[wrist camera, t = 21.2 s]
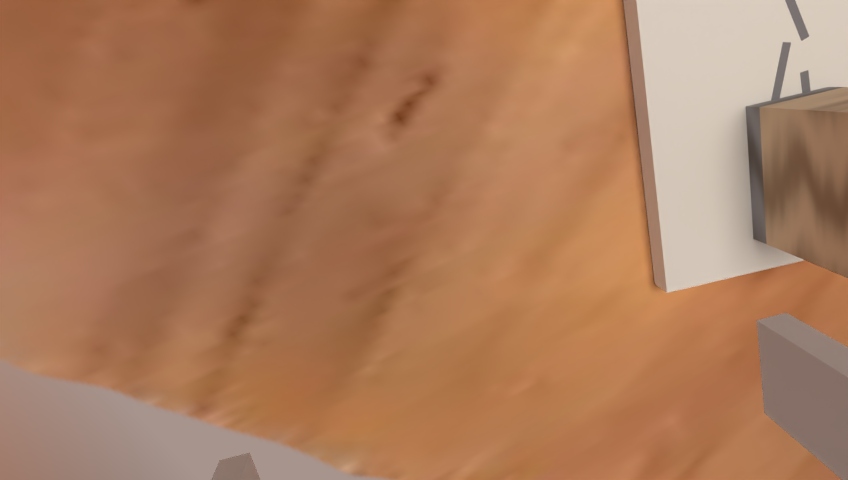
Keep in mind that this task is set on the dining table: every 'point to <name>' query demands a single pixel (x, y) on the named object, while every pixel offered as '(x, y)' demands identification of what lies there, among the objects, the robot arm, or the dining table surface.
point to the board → (718, 118)
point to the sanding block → (801, 175)
